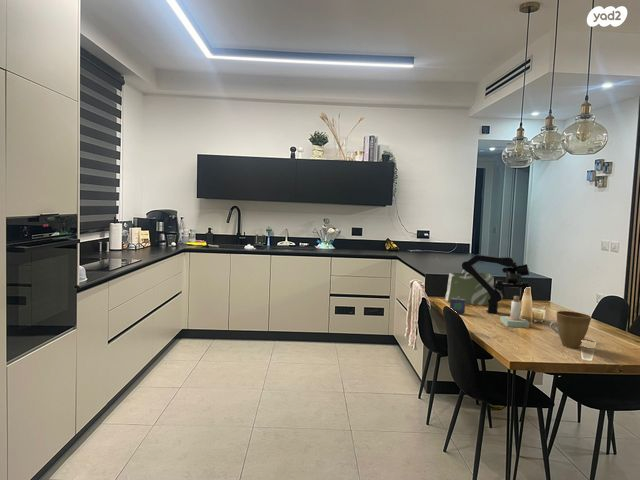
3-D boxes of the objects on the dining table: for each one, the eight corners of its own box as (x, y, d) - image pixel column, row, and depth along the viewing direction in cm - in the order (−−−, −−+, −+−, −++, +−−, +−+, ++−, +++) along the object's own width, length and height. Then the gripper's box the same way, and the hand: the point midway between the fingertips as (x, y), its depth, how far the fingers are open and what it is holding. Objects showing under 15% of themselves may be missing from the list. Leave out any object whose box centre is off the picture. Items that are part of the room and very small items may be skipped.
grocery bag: (447, 302, 314) (449, 269, 312) (444, 298, 328) (446, 266, 326) (495, 306, 310) (498, 272, 308) (490, 302, 324) (493, 269, 322)
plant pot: (595, 350, 221) (598, 317, 219) (570, 351, 217) (573, 318, 215) (570, 340, 235) (573, 310, 234) (546, 341, 231) (549, 310, 229)
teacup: (577, 336, 243) (579, 321, 243) (579, 342, 234) (581, 326, 233) (548, 332, 249) (549, 318, 249) (549, 337, 239) (550, 322, 239)
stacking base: (500, 320, 270) (500, 315, 269) (521, 322, 269) (521, 316, 269) (507, 326, 258) (507, 320, 257) (529, 327, 257) (529, 321, 257)
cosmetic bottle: (508, 317, 266) (510, 295, 265) (517, 317, 265) (519, 295, 264) (511, 319, 261) (513, 296, 260) (520, 319, 261) (522, 297, 259)
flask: (464, 313, 285) (465, 296, 284) (465, 314, 282) (466, 297, 281) (449, 312, 285) (450, 295, 284) (450, 313, 282) (451, 296, 282)
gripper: (496, 267, 279) (497, 288, 269) (530, 269, 274) (532, 291, 264) (494, 278, 287) (495, 298, 277) (526, 280, 282) (528, 301, 273)
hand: (512, 297), depth 273 cm, fingers open, 9 cm apart
